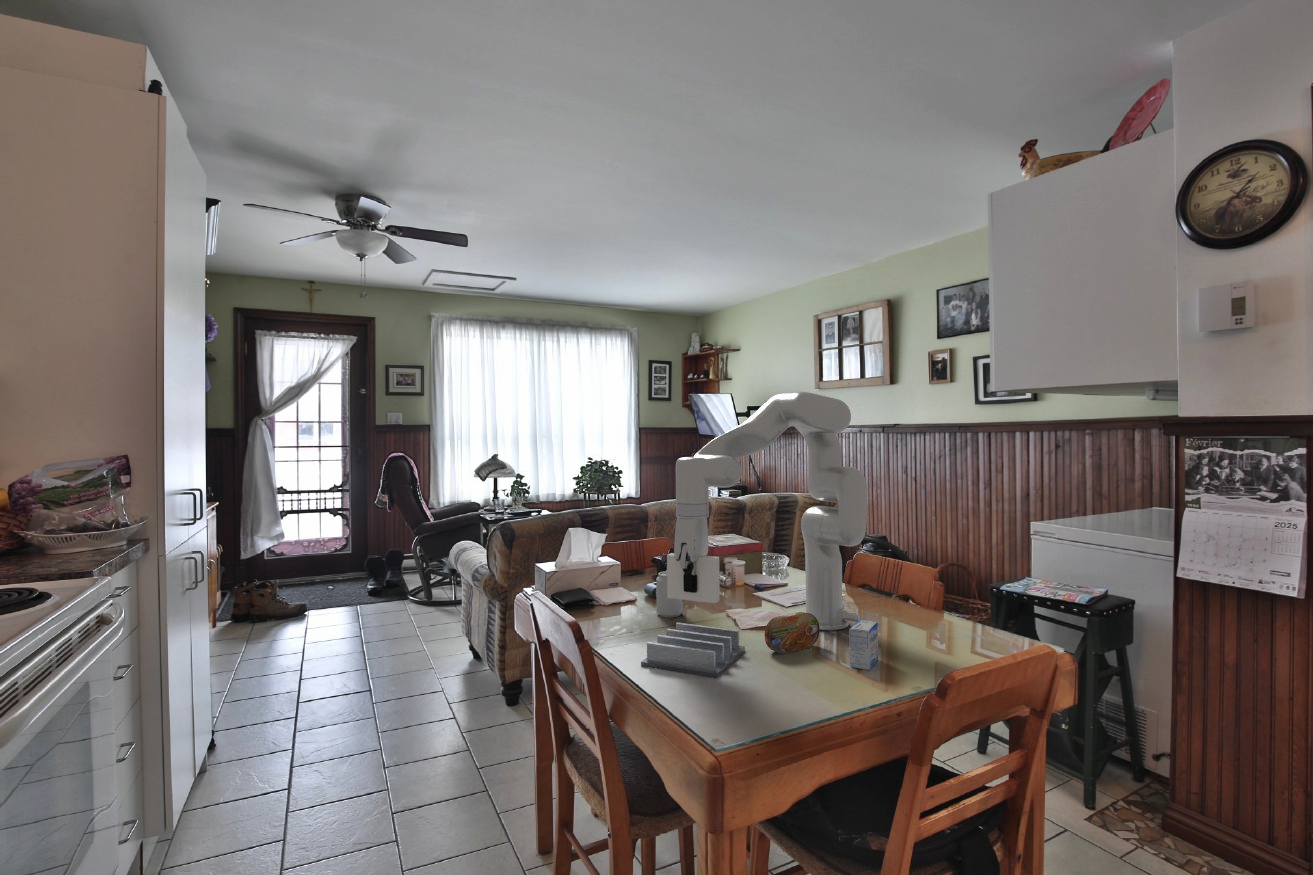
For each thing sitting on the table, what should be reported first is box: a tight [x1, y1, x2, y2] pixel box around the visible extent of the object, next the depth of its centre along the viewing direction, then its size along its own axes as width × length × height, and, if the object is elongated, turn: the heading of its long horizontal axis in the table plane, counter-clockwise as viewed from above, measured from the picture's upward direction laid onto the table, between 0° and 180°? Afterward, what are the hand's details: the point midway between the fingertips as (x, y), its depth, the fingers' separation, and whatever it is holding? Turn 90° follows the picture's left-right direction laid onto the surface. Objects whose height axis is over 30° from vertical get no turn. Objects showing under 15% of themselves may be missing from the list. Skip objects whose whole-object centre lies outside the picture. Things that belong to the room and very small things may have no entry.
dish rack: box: [640, 621, 746, 680], centre depth 150 cm, size 18×19×5 cm
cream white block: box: [666, 552, 721, 604], centre depth 150 cm, size 2×12×10 cm, turn 64°
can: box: [655, 570, 684, 618], centre depth 186 cm, size 8×8×12 cm
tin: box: [764, 611, 821, 655], centre depth 155 cm, size 15×3×8 cm, turn 117°
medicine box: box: [848, 619, 879, 671], centre depth 145 cm, size 8×4×9 cm, turn 148°
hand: (693, 589), depth 150 cm, fingers closed on cream white block, 2 cm apart
